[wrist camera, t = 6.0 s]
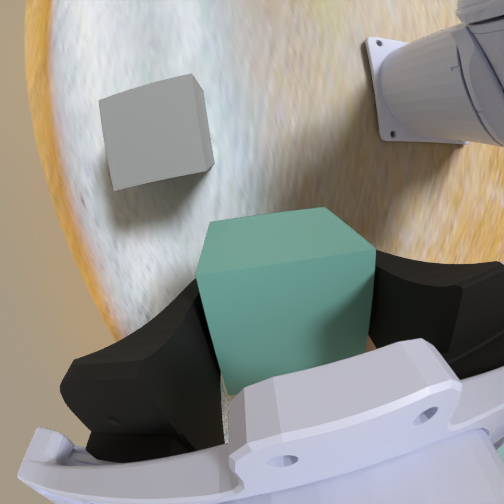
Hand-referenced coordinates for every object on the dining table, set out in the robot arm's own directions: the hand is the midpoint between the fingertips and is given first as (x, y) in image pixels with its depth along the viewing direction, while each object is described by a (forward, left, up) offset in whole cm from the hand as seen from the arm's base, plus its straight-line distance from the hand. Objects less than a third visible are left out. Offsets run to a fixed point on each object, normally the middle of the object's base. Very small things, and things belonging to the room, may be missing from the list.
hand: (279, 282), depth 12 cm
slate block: (+5, -7, -8) cm, 12 cm away
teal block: (0, 0, -2) cm, 2 cm away
